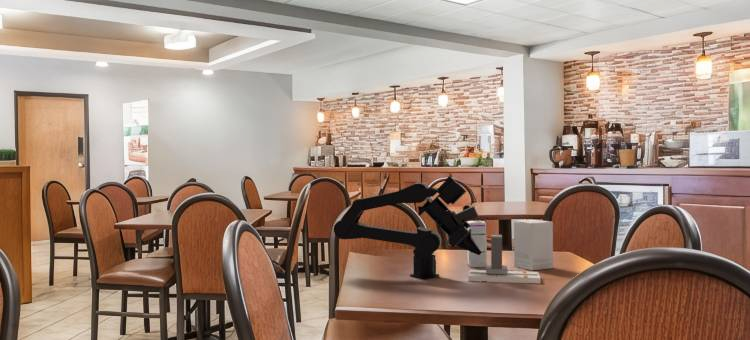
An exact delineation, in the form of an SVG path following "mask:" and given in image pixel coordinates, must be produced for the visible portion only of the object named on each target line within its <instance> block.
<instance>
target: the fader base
mask: <svg viewBox="0 0 750 340" xmlns="http://www.w3.org/2000/svg"><path fill="white" fill-rule="evenodd" d="M467 275H468V276H467V281H468V282H482V281H487V282H488V283H512V284H513V283H515V284H516V283H517V284H541V283H542V282H541V280H542V279H541V276H540V273H539V271H526V270H521V271H520V270H519V271H514V270H512V271H511V270H507V274H493V273H486V269H485V270H484V269H483V270H481V269H468V274H467ZM487 282H486V283H487Z"/></svg>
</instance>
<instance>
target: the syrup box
mask: <svg viewBox="0 0 750 340" xmlns="http://www.w3.org/2000/svg"><path fill="white" fill-rule="evenodd" d="M467 222H468V223H469V224H470V225H471V226H470V227H468V228H467V229H468V230H470V229H471V237H472V238H473V240H474V241H475V243H476V245H477V246H478V248H479V249H480V251H481V254H480V255H477V254H475V253H473V252H470V251H468V250H466V253H467V256H466V261H467V266H468V267H469V268H475V267H480V268H486V265H488V263H487V262H488V261H487V259H488V257H487V256H488V254H487V251H488V250H487V249H488V248H487V247H488V246H487V245H488V244H487V223H486V222H485V221H483V220H468V221H467Z"/></svg>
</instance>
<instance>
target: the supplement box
mask: <svg viewBox="0 0 750 340" xmlns="http://www.w3.org/2000/svg"><path fill="white" fill-rule="evenodd" d="M513 266H514V267H516V268H520V269H525V270H528V271H538V270H549V269H553V268H554V222H553V221H549V220H541V219H522V220H521V219H520V220H519V219H518V220H513Z"/></svg>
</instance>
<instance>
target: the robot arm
mask: <svg viewBox="0 0 750 340" xmlns="http://www.w3.org/2000/svg"><path fill="white" fill-rule="evenodd" d="M466 193H467V190H466V189H465V187H464V186H463V185H461V183H460V182H457V181H456V180H455V179H454V178H453V177H452V176H451V175H448V176H447V178H446V179H445V180H444V182H443V183H442V184H441V185H440V186H439V187H429V186H428V185H427V184H426V183H423V182H417V183H414V184H412V185H409V186H406V187H403V188H401V189H399V190H395V191H392V192H388V193H387V192H385V193H383V194H378V195H373V196H369V197H365V198H357V199H354V200H353V202H352V204H351V205H350V206H349V208H348V210H347V211H346V213H344V215H343V217H342V218H341V219H340V220H338V221H337V222H336V223H335V224H334V226H333V233H334V235H335V236H336V238H337V239H339V240H355V239H356V240H357V239H367V240H375V241H381V242H387V243H389V242H390V243H393V244H394V243H395V244H400V245H401V244H403V245H407V246H411V247H413V248H414V249H413V251H412V253H413V261H412V263H413V268H412V269H413V271H412V272H413V273H409V276H410V277H414V278H419V279H424V280H426V279H430V278H431V279H432V278H437V277H440V274H439V273H437V260H436V254H434V253H435V252H436V251H438V249H439V248H440V247H441V244H442V237H441V234H440V233H439V232H438V231H436V230H433V227H429V228H427V227H423V226H419V227H417V228H416V230H415V231H414V230H413V231H410V230H404V229H403V230H402V229H397V228H396V229H395V228H391V227H389V228H388V227H381V226H375V225H368V224H365V223H363V222H361V221H360V219H361V217H362V216H363V214H364V212H365V211H368V210H373V209H378V208H381V207H387V206H392V205H396V204H397V205H398V204H420V203H423V202H425V201H426V202H425V203H423V205H418V206H417V209H418V211H417V212H418V213H417V214H418V216H422V215H423V214H424V213H425V214H426V215H427V216H428V217H429V218H430V219H431V220H432V221H433V222H434V223H435V224H436V225H437V227H438V229H441V230H442V231H443V232H444V233H445V234H446V235H447V237H448V242H447V243H448V244H449V245H450V246H451V247H452V248H454V247H458V248H461V249H464V250H466V251H467V250H468V251H470V252H473V253H475V254H477V255H480V254H481V251H480V249H479V248H478V246H477V245H476V243H475V241H474V240H473V238H472V237H471V229H470V230H468V229H467V228H468V227H470V226H471V225H470V224H469V223H468V222H467V221H471V220H472V219H476V218H478V217H479V214H478V212H477V210H476V207H475V206H474V205H472V206H470V205H468V204H466V205H464V206H462V210H460V211H459V212H457V213H456V212H455V211H453V210H451V209H450V208H449V207H448V206H447V205H450V204H452V205H455V203H457V202H458V200H460V198H462V197H463V196H464V195H465V194H466ZM437 194H438V195H437ZM436 195H437V196H436ZM434 196H436V197H435V198H434V199H433V200H431V199H428V198H432V197H434ZM442 201H443V202H442ZM444 203H445V204H444Z"/></svg>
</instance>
